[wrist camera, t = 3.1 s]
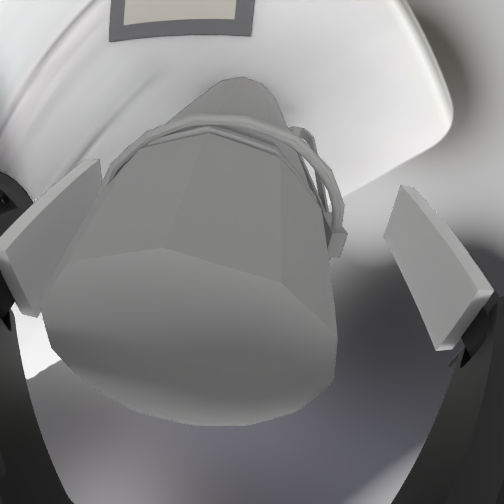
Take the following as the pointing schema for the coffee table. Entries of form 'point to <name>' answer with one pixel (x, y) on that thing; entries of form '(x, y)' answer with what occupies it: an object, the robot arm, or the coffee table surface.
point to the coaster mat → (179, 18)
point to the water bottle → (205, 268)
